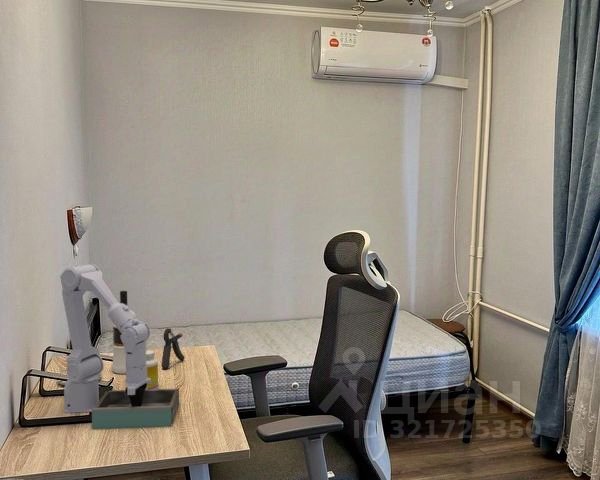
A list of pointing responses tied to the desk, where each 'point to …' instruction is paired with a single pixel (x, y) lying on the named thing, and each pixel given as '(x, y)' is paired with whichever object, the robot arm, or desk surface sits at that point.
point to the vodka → (119, 343)
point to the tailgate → (131, 417)
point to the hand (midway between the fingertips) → (137, 409)
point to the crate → (149, 399)
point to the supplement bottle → (151, 370)
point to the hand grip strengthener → (168, 348)
